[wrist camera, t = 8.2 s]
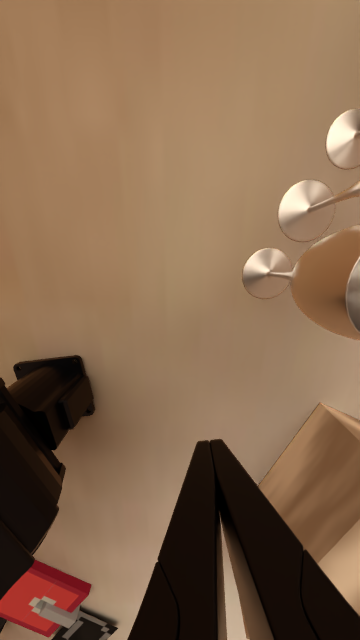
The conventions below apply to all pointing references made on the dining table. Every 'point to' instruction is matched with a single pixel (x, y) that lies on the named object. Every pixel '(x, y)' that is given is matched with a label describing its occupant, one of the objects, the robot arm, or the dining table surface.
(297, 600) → the robot arm
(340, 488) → the wood grain box
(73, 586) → the red board with handle
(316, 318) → the goblet set
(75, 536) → the dining table surface
